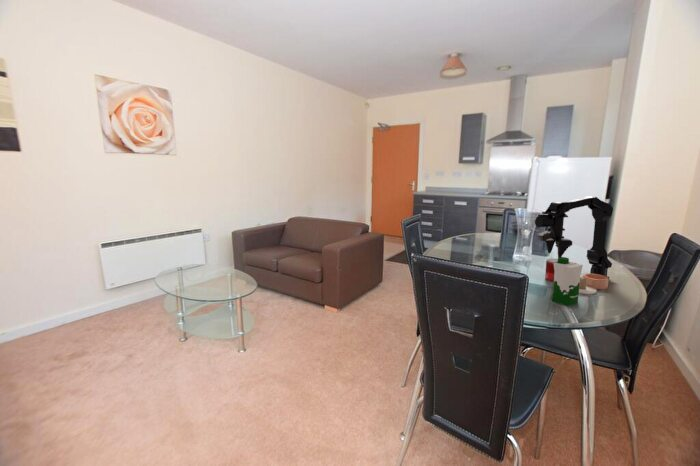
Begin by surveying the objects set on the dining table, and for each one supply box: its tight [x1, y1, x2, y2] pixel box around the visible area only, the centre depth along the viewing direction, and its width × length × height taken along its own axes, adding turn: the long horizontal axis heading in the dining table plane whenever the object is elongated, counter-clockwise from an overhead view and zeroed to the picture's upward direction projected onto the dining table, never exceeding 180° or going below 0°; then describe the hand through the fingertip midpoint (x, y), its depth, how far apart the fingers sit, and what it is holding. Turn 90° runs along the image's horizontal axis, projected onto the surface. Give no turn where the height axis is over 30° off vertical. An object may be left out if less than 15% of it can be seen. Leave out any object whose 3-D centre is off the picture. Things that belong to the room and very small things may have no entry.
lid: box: [579, 276, 598, 295], centre depth 148 cm, size 11×11×6 cm
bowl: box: [581, 273, 610, 290], centre depth 154 cm, size 10×10×5 cm
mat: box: [578, 289, 609, 297], centre depth 149 cm, size 14×14×1 cm
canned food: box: [544, 258, 558, 283], centre depth 164 cm, size 8×8×11 cm
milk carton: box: [551, 256, 584, 307], centre depth 135 cm, size 9×9×20 cm
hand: (554, 255), depth 162 cm, fingers open, 9 cm apart
